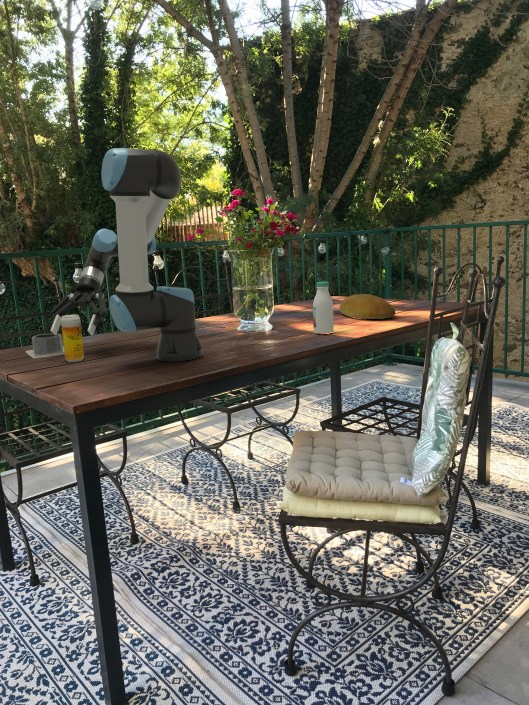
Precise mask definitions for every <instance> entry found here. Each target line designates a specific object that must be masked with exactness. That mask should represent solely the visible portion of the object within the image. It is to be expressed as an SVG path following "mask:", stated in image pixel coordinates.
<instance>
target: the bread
mask: <svg viewBox="0 0 529 705" xmlns="http://www.w3.org/2000/svg"><path fill="white" fill-rule="evenodd" d="M339 310H340V313H341V315H343V314H344V315H346V316H349V317H355V318H362V319H361V320H366V319H379V320H386V319H391V317H392V318H393V317H395V315H396V308H395V307H394V306H393V305H392V304H391V303H390V302H388V301H387V300H385V299H384V298H381V297H379V296H377V295H373V294H367V293H360V294H357V293H356V294H351V295H350V296H349V295H348V296H347V297H345V298H344V299H343V300H342V301H341V302H340V305H339ZM344 315H343V316H344ZM346 316H345V317H346ZM349 317H348V318H349ZM385 318H386V319H385Z"/></svg>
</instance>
